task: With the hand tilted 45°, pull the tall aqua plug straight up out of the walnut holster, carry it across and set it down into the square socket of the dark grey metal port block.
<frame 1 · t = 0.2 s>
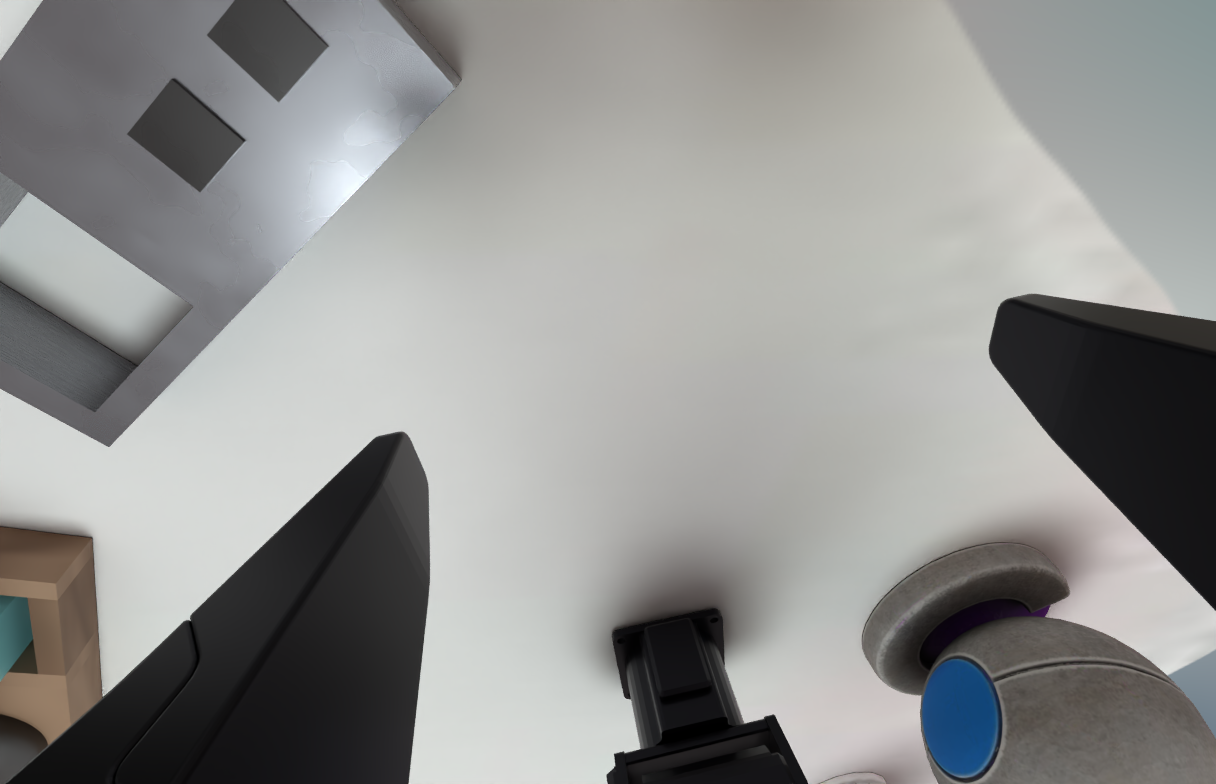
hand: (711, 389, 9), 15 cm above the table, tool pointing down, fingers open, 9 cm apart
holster: (1, 583, 26), on the table
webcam: (951, 610, 39), on the table
port block: (105, 268, 20), on the table
plug: (1, 582, 26), resting in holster
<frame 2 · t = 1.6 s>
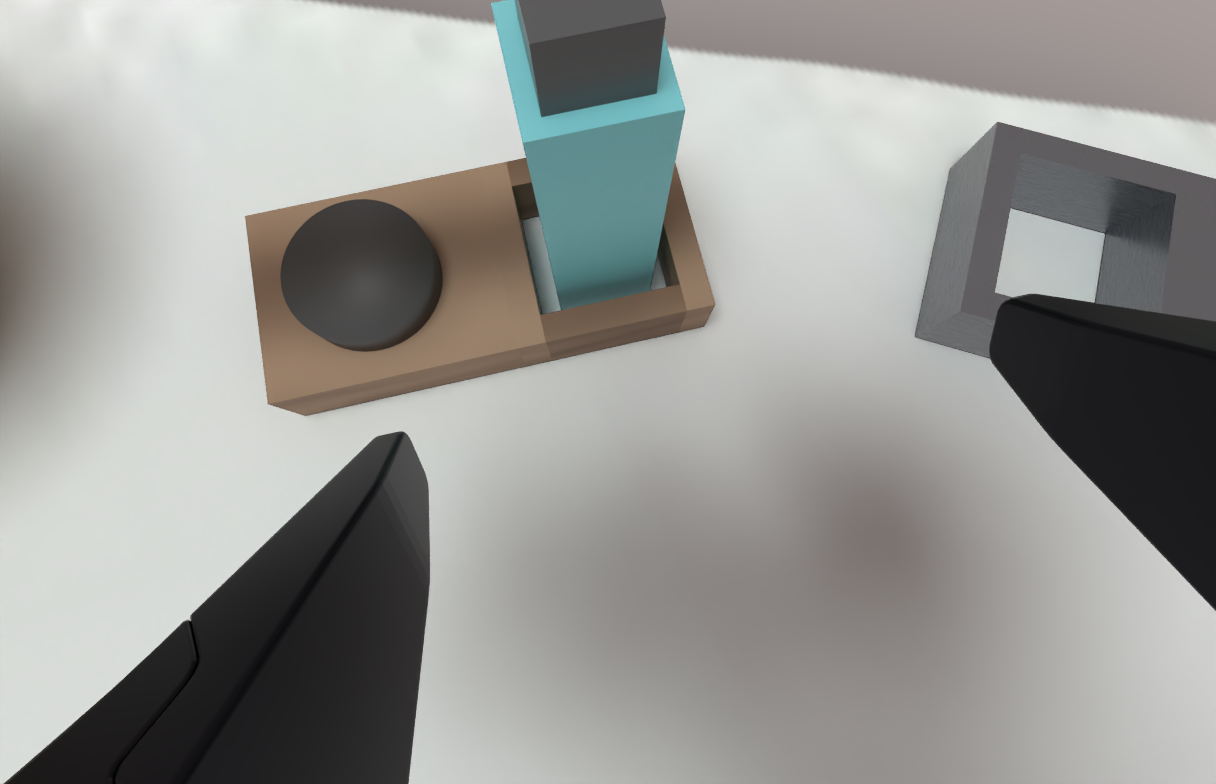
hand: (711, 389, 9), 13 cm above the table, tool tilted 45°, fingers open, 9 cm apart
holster: (595, 263, 24), on the table
port block: (1026, 276, 23), on the table
plug: (595, 263, 24), resting in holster
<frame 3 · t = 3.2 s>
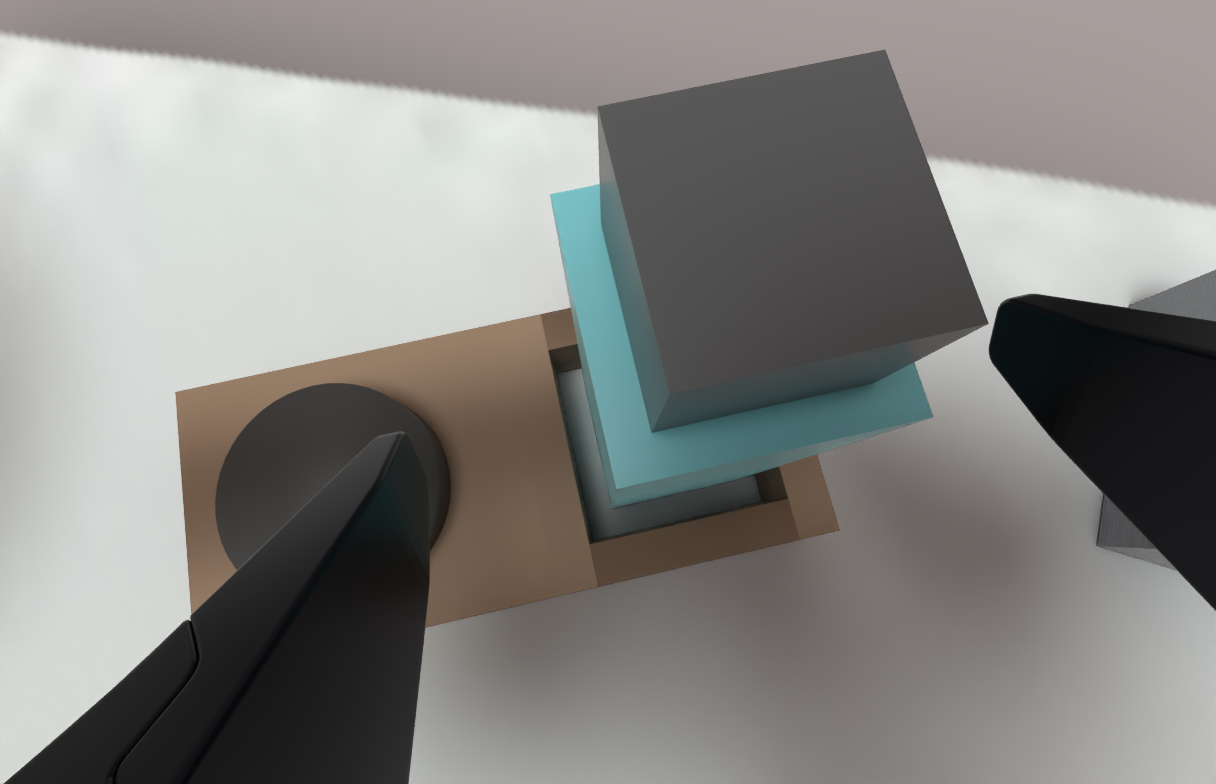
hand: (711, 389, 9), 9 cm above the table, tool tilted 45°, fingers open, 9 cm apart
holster: (657, 436, 17), on the table
plug: (657, 436, 17), resting in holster
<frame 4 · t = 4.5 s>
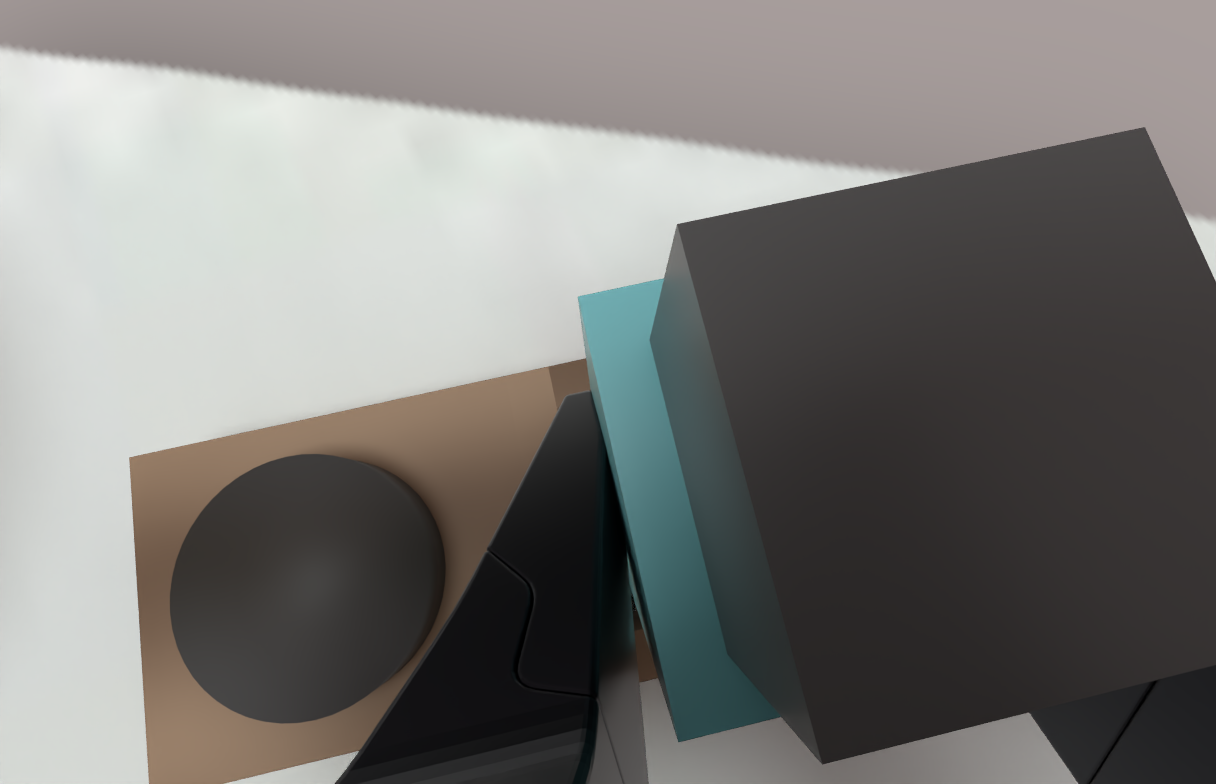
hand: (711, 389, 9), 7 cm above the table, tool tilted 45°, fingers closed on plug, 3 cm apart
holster: (678, 496, 15), on the table
plug: (677, 496, 16), resting in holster, touching gripper
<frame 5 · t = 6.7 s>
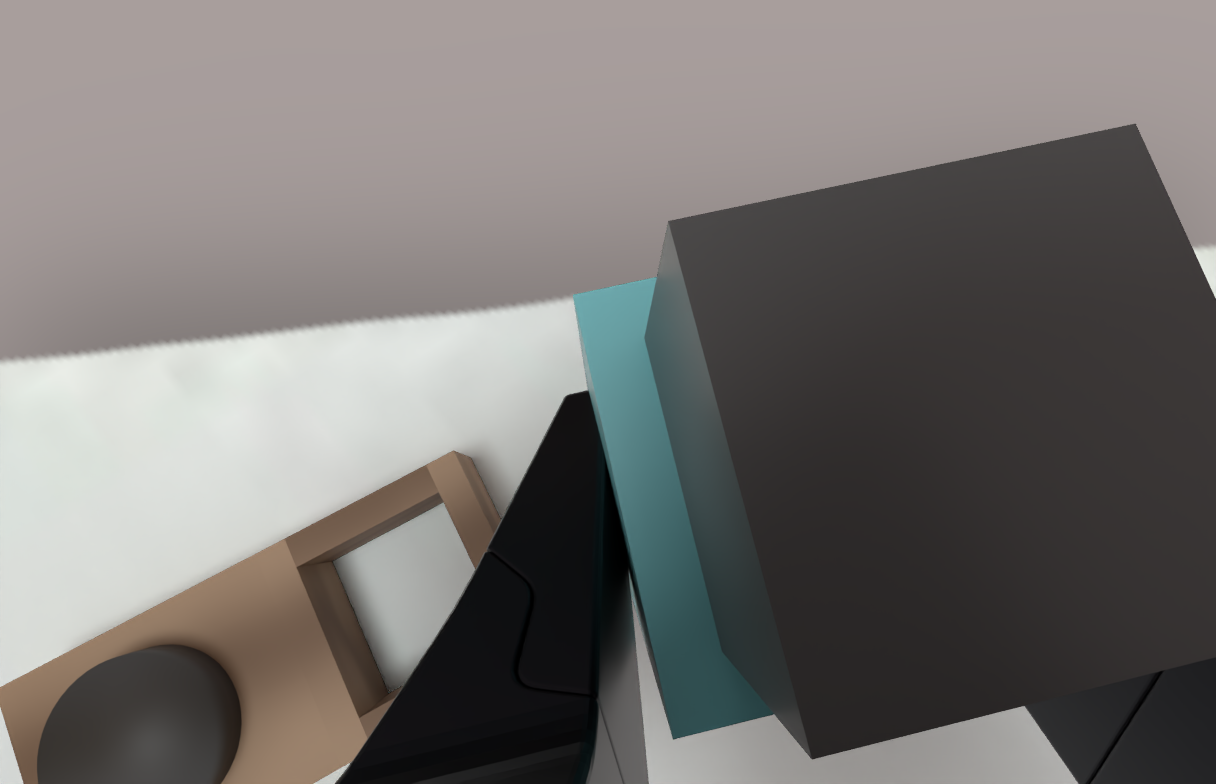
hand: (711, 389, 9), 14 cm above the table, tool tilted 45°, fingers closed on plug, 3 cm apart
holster: (424, 590, 21), on the table
plug: (676, 495, 16), point 6 cm above the table, touching gripper
when the fingers open (9 cm above the table, at t = 8.8 s): plug drops 1 cm, resting in port block.
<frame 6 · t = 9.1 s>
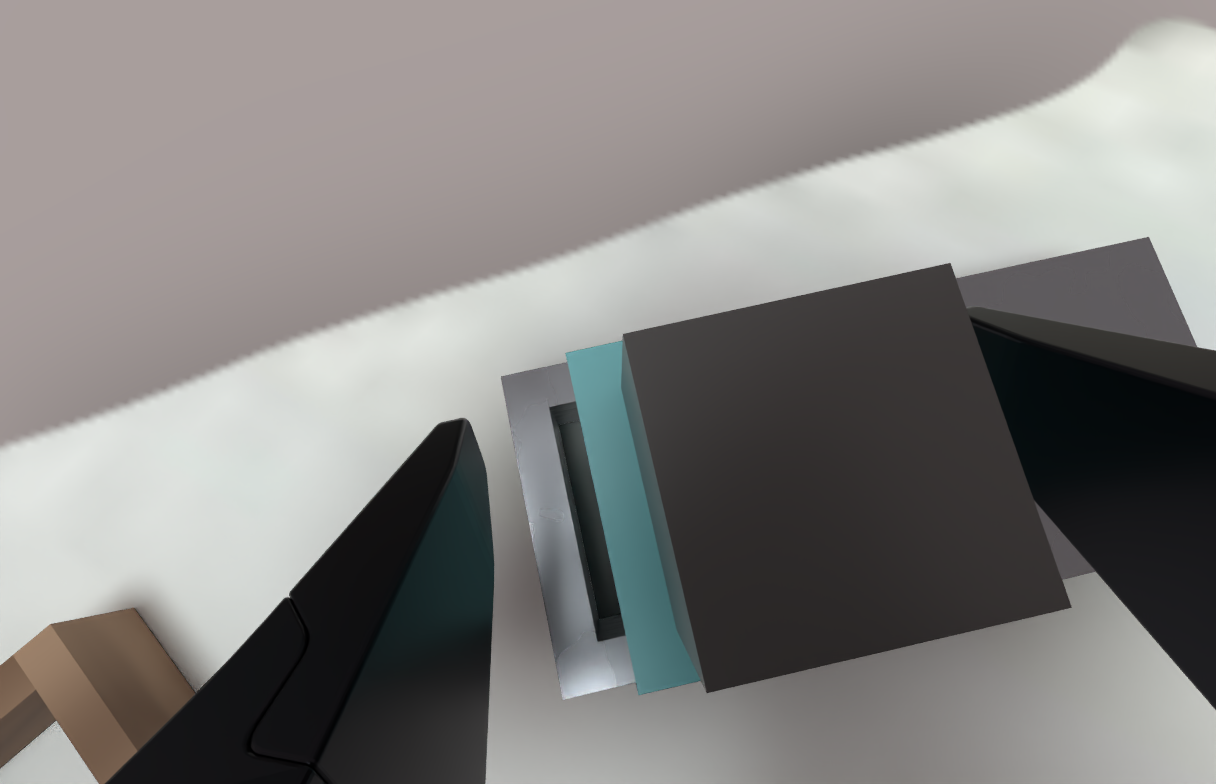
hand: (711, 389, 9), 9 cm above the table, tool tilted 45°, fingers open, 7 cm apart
port block: (672, 497, 17), on the table
plug: (670, 495, 17), resting in port block
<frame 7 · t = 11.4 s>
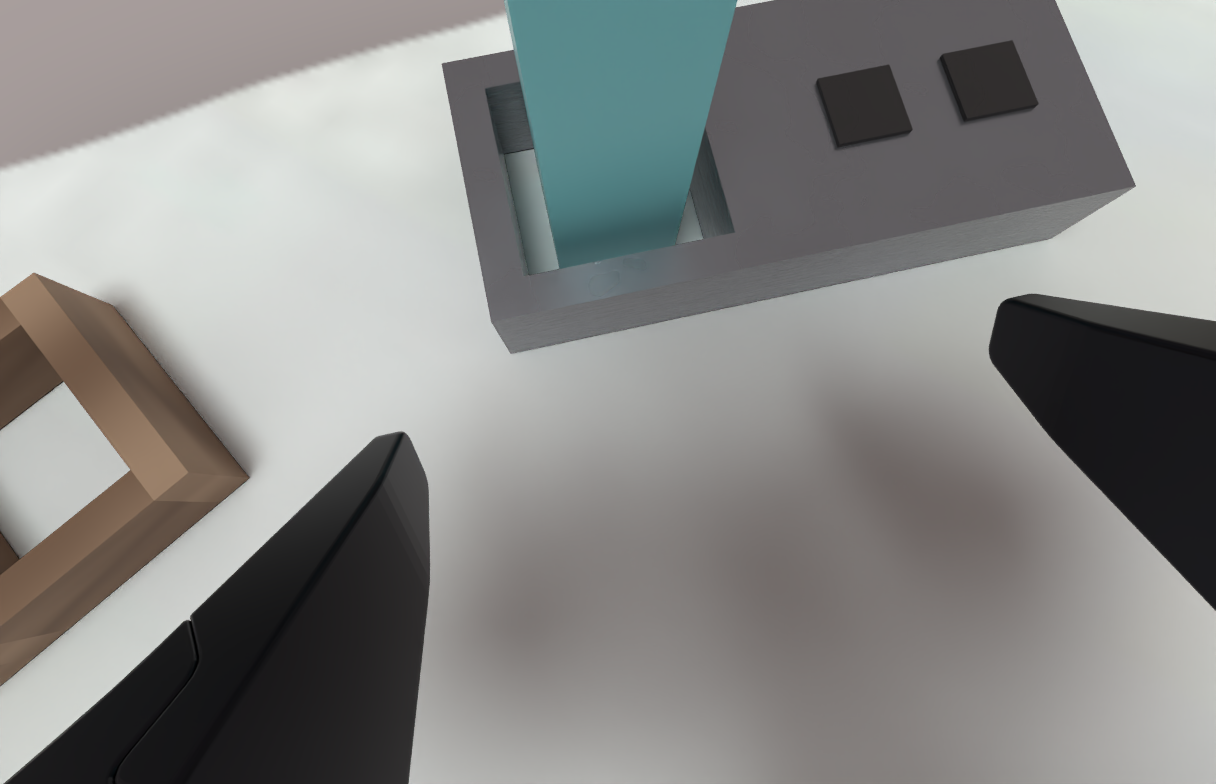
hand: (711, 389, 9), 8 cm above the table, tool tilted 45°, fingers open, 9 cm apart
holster: (76, 470, 17), on the table
port block: (606, 214, 19), on the table
plug: (604, 213, 19), resting in port block
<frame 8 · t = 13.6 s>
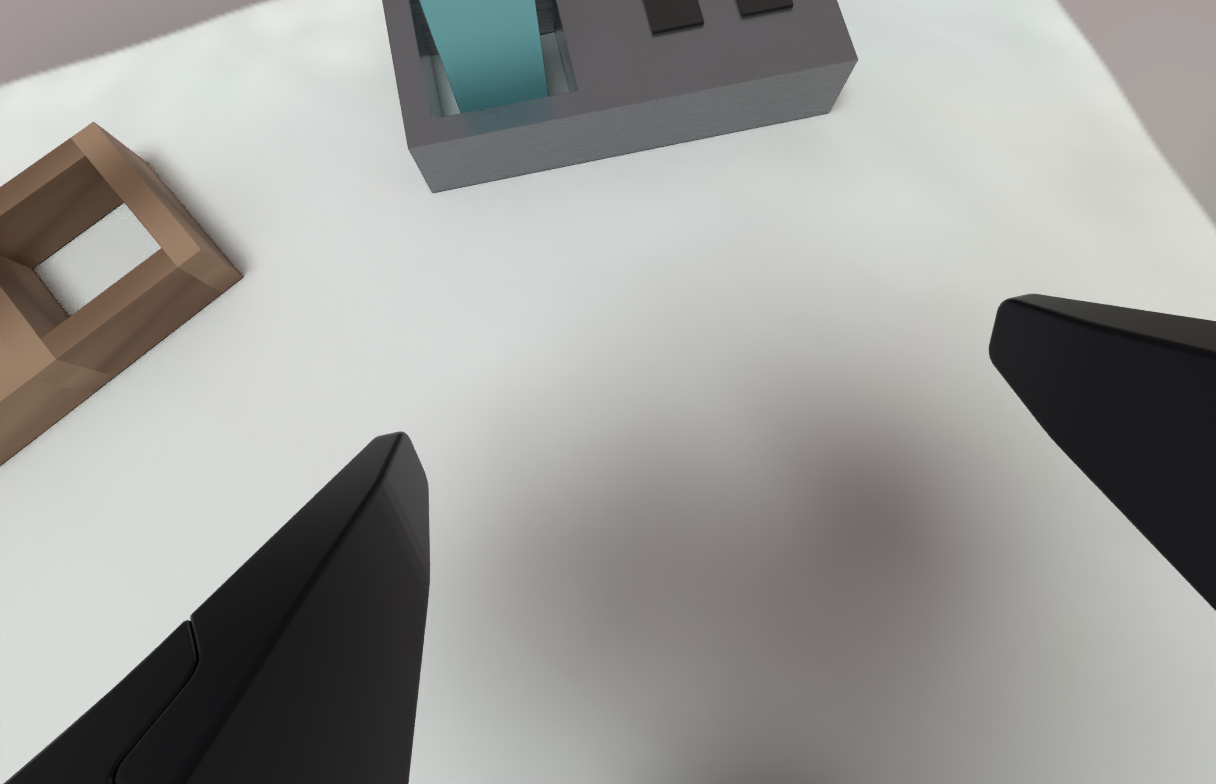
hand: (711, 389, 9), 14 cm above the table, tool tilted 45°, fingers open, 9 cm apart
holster: (119, 272, 24), on the table
port block: (505, 97, 25), on the table
plug: (503, 96, 25), resting in port block
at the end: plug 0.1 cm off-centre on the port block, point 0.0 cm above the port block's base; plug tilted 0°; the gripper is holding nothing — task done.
